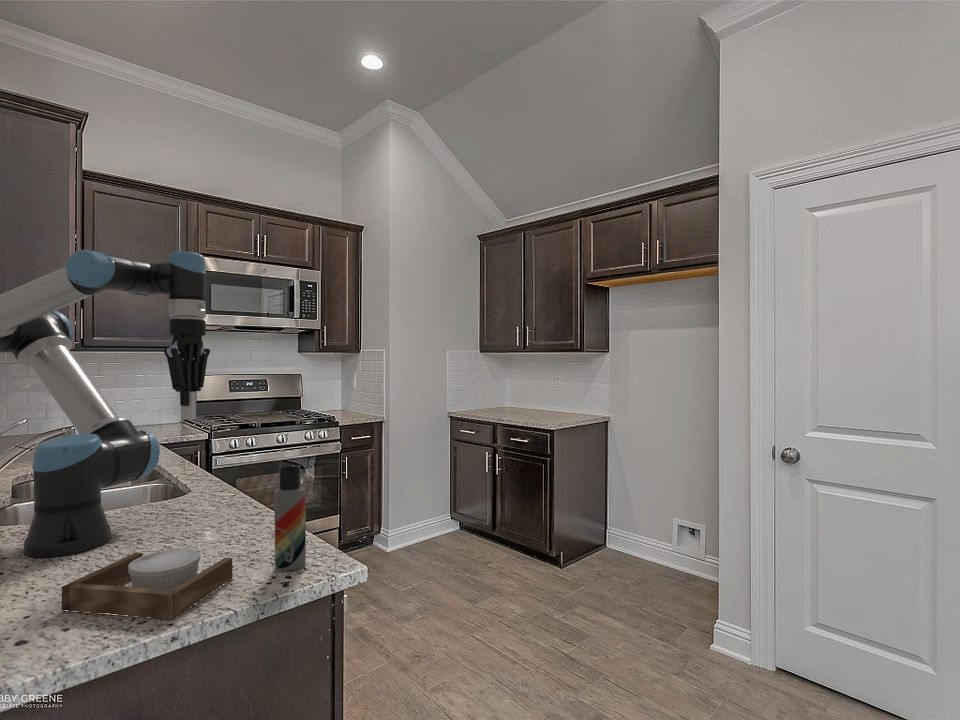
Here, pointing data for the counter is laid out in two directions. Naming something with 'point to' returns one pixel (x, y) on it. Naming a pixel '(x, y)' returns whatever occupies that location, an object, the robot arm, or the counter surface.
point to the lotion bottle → (290, 520)
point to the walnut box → (140, 591)
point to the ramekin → (164, 569)
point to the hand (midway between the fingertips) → (188, 419)
